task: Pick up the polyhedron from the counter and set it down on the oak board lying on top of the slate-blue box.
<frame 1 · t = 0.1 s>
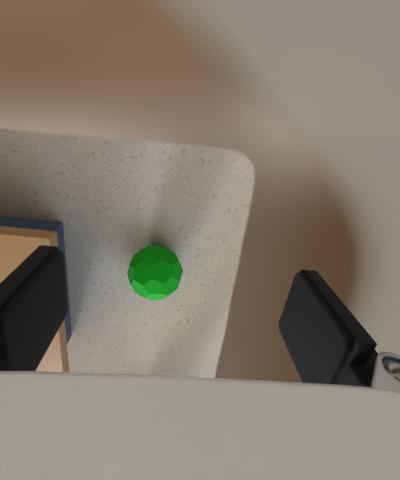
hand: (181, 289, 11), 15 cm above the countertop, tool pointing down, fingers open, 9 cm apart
polyhedron: (158, 258, 28), on the countertop
board box: (5, 279, 28), on the countertop
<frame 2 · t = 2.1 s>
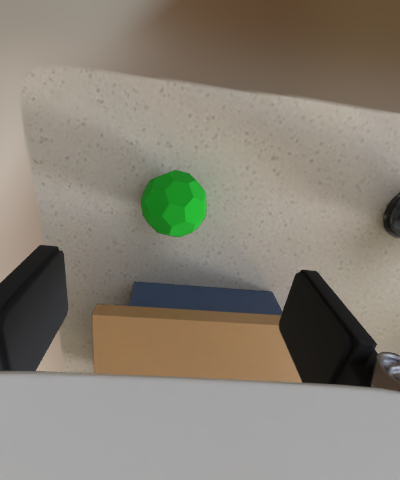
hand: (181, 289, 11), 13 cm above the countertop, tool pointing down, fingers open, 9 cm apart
polyhedron: (175, 194, 23), on the countertop
board box: (197, 331, 30), on the countertop
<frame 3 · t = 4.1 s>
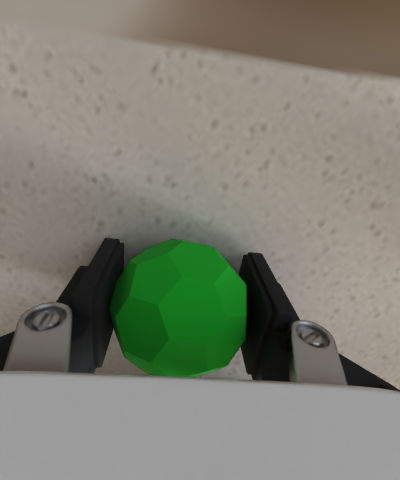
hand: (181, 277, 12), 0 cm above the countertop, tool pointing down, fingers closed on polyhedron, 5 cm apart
polyhedron: (181, 269, 12), on the countertop, touching gripper
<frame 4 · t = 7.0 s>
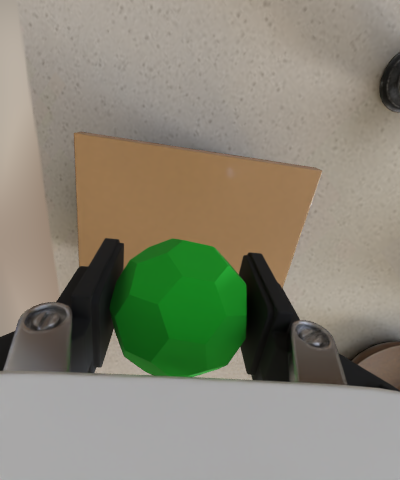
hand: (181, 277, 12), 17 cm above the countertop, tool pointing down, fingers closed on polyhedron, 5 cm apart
polyhedron: (181, 269, 12), point 17 cm above the countertop, touching gripper
board box: (188, 219, 29), on the countertop
saucer: (378, 366, 42), on the countertop
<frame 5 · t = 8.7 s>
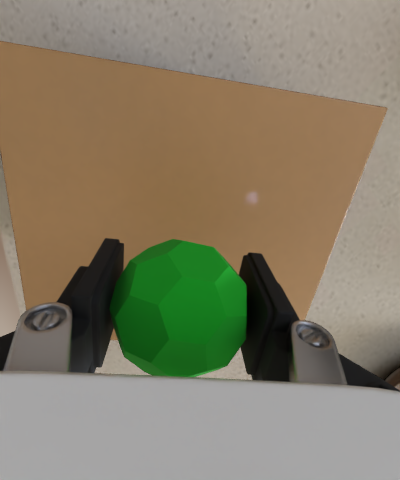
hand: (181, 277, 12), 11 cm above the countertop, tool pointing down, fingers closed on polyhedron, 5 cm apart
polyhedron: (181, 269, 12), point 10 cm above the countertop, touching gripper
board box: (181, 200, 22), on the countertop
when the fingers open (8 cm above the countertop, at t = 10.0 s): polyhedron stays where it is, resting on board box.
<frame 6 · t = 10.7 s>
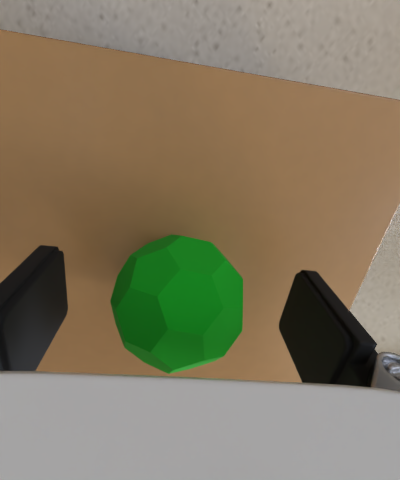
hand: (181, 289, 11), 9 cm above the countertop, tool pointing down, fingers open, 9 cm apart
polyhedron: (180, 265, 13), point 7 cm above the countertop, touching board box
board box: (182, 213, 19), on the countertop
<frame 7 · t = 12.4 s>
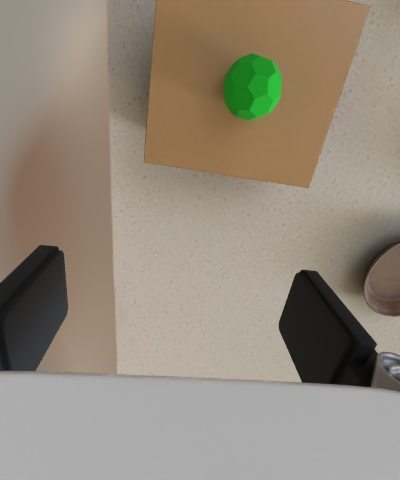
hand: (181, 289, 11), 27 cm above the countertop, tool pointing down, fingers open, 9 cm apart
polyhedron: (245, 90, 26), point 7 cm above the countertop, touching board box
board box: (234, 95, 32), on the countertop
saucer: (399, 269, 44), on the countertop
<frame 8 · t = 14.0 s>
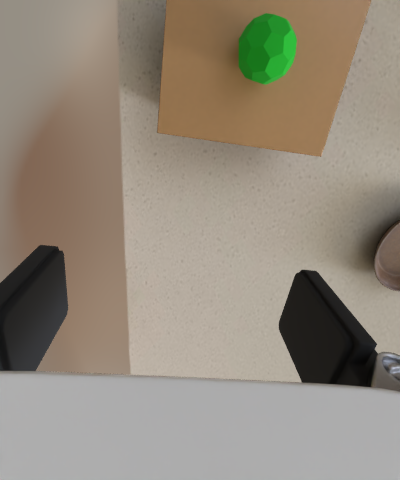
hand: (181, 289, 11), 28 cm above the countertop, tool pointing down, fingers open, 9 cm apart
polyhedron: (258, 56, 26), point 7 cm above the countertop, touching board box
board box: (244, 67, 32), on the countertop
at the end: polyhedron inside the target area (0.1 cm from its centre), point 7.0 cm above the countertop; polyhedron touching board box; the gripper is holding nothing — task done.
